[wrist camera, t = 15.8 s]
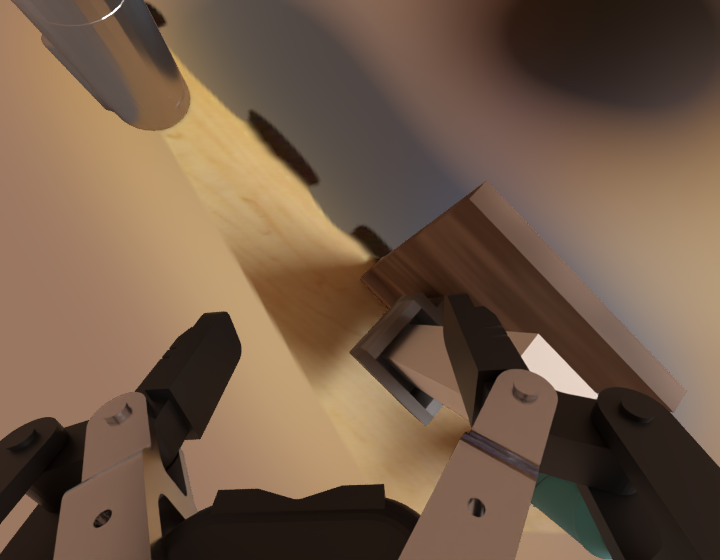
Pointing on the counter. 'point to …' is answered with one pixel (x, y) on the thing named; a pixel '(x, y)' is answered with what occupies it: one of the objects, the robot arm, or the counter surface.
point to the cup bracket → (502, 301)
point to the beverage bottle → (568, 512)
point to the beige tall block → (435, 374)
